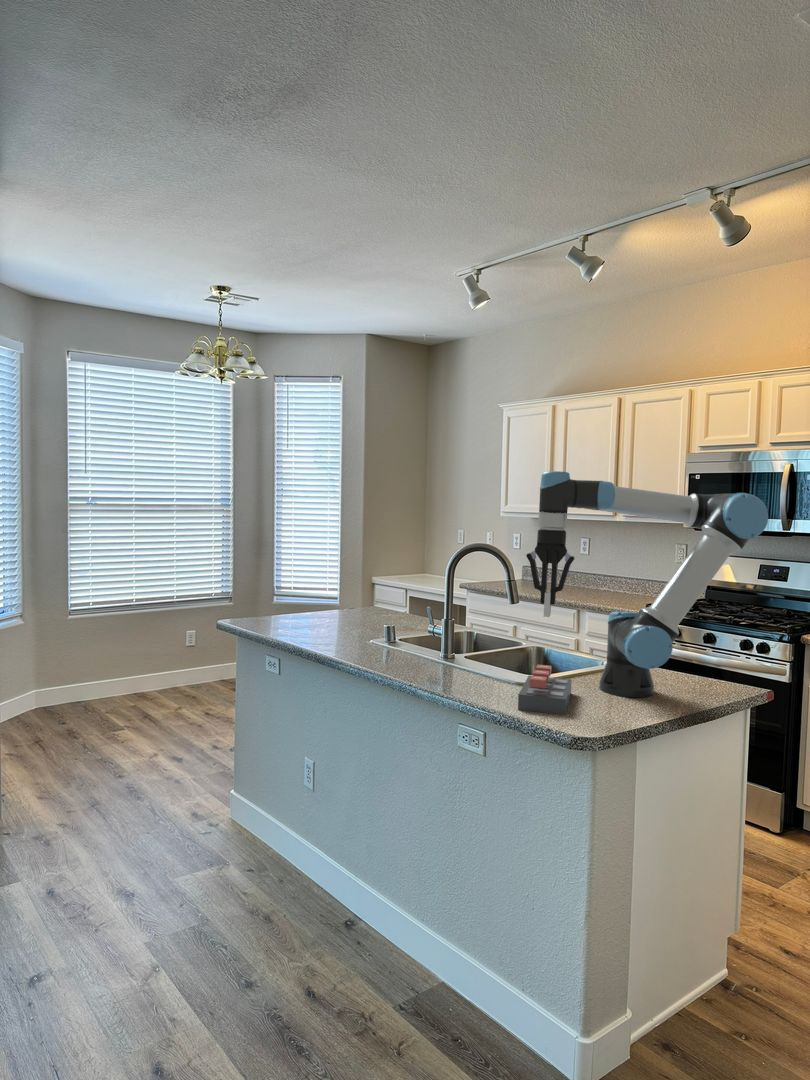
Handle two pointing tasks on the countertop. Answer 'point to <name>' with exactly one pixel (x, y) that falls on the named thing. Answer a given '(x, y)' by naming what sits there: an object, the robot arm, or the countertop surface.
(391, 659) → the countertop surface
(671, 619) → the robot arm
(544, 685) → the button
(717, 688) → the countertop surface
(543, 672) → the button
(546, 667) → the button
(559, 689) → the dark grey flat block
